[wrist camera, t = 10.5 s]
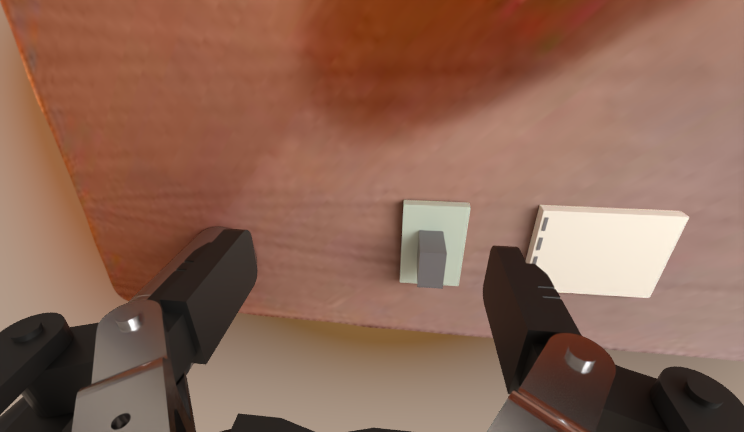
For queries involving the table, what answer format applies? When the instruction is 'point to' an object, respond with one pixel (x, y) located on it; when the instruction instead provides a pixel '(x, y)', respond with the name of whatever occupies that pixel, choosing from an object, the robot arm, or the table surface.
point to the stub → (433, 242)
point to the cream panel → (604, 248)
